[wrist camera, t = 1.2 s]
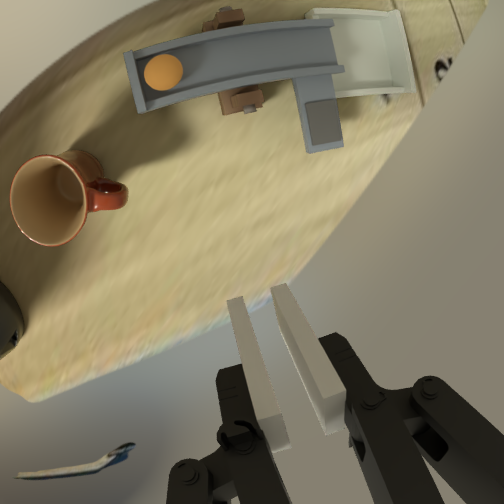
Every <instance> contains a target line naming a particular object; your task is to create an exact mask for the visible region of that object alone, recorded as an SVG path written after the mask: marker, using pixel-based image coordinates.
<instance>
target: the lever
mask: <svg viewBox="0 0 504 504" xmlns="http://www.w3.org/2000/svg"><path fill="white" fill-rule="evenodd" d="M333 26H335V25H334V21H333V19H304V20H287V21H275V22H265V23H257V24H249V25H242V26H236V27H230V28H224V29H218V30H213V31H208V32H203V33H199V34H194V35H190V36H186V37H182V38H178V39H174V40H170V41H167V42H163V43H160V44H156V45H153V46H150V47H146V48H143V49H140V50H137V51H134V52H133V51H132V50H130V51H128V52H125V53H123V55H124V59H125V63H126V68H127V72H128V76H129V80H130V84H131V89H132V93H133V97H134V100H135V104H136V108H137V112H138V114H143V113H146V112H149V111H152V110H156V109H159V108H162V107H165V106H169V105H172V104H175V103H179V102H182V101H186V100H190V99H193V98H197V97H201V96H205V95H209V94H213V93H218V92H222V91H226V90H231V89H236V88H241V87H246V86H251V85H256V84H262V83H267V82H274V81H280V80H287V79H292V82H293V86H294V91H295V96H296V101H297V106H298V111H299V116H300V121H301V126H302V131H303V137H304V142H305V148H306V152H307V153H315V152H320V151H325V150H330V149H335V148H340V147H344V144H343V137H342V131H341V124H340V118H339V112H338V106H337V101H336V95H335V90H334V85H333V80H332V75H331V74H338V73H344V72H345V69H344V65H338V62H337V58H336V53H335V49H334V44H333V40H332V36H331V32H330V28H331V27H333ZM162 54H168V55H172V56H174V57H176V58H177V59H178V60H179V61H180V62H181V64H182V67H183V75H182V78H181V80H180V81H179V83H178V84H177V85H176V86H174V87H173V88H171V89H168V90H163V91H160V90H155V89H153V88H151V87H150V86H149V85H148V84H147V83H146V81H145V78H144V70H145V67H146V65H147V64H148V62H149V61H150V60H151V59H152V58H154V57H156V56H158V55H162Z"/></svg>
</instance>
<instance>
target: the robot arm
mask: <svg viewBox="0 0 504 504" xmlns="http://www.w3.org/2000/svg"><path fill="white" fill-rule="evenodd" d="M271 293H272V297H273V302H274V306H275V311H276V316H277V320H278V325H279V329H280V332H281V334H282V337H283V339H284V341H285V343H286V346H287V348H288V350H289V353H290V355H291V357H292V360H293V362H294V364H295V366H296V369H297V371H298V373H299V376H300V378H301V380H302V382H303V385H304V387H305V389H306V392H307V394H308V396H309V398H310V401H311V403H312V405H313V408H314V410H315V412H316V414H317V417H318V419H319V421H320V424H321V426H322V428H323V430H324V433H325V435H326V436H327V435H330V434H332V433H335V432H337V431H340V430H342V429H345V424H346V426H347V428H348V429H349V432H350V434H349V447H352V446H353V449H354V451H355V454H356V456H357V459H358V461H359V464H360V467H361V469H362V472H363V474H364V477H365V480H366V482H367V485H368V487H369V490H370V493H371V495H372V498H373V501H374V504H445V503H444V501H443V499H442V497H441V495H440V493H439V491H438V489H437V487H436V484H435V482H434V480H433V478H432V476H431V474H430V472H429V470H428V468H427V466H426V464H425V462H424V460H423V458H422V456H423V457H424V458H425V459H426V461H427V462H428V463H429V464H430V465H431V466H432V467H433V468H434V469H435V470H436V471H437V472H438V474H439V475H440V476H441V477H442V478H443V479H444V480H445V481H446V482H447V483H448V484H449V485H450V487H451V488H452V489H453V490H454V491H455V492H456V493H457V494H458V495H459V496H460V497H461V498H462V499H463V501H464V502H465V503H466V504H504V435H503V434H502V433H501V432H500V431H499V430H498V429H496V428H495V427H494V426H493V425H492V424H491V423H490V422H489V421H488V420H487V419H486V418H484V417H483V416H482V415H481V414H480V413H479V412H478V411H477V410H476V409H475V408H473V407H472V406H471V405H470V404H469V403H468V402H467V401H466V400H464V399H463V398H462V397H461V396H460V395H459V394H458V393H457V392H455V391H454V390H453V389H452V388H451V387H450V386H449V385H448V384H446V383H445V382H444V381H443V380H441V379H440V378H438V377H435V376H424V377H422V378H420V379H418V380H417V382H416V383H415V384H414V386H413V387H410V388H404V389H399V390H388V389H384V388H382V387H380V386H378V385H377V384H376V383H375V382H374V381H373V379H372V378H371V376H370V375H369V373H368V371H367V370H366V368H365V367H364V365H363V364H362V362H361V361H360V359H359V358H358V356H357V355H356V353H355V352H354V350H353V349H352V347H351V346H350V344H349V342H348V341H347V339H346V338H345V337H343V336H341V335H339V334H338V333H336V332H335V333H332V334H329V335H327V336H324V337H321V338H319V339H317V337H316V335H315V333H314V331H313V330H312V328H311V326H310V324H309V323H308V321H307V319H306V317H305V316H304V314H303V312H302V310H301V308H300V307H299V305H298V304H297V301H296V300H295V298H294V296H293V294H292V293H291V291H290V289H289V287H288V286H287V284H286V283H284V284H281V285H278V286H274V287H271ZM227 305H228V309H229V313H230V317H231V322H232V326H233V330H234V334H235V338H236V342H237V346H238V350H239V354H240V358H241V362H242V364H238V365H235V366H231V367H228V368H224V369H220V370H219V372H218V374H217V377H216V387H217V392H218V399H219V405H220V410H221V416H222V421H223V424H222V425H221V426H220V428H219V430H218V432H217V441H218V443H219V444H220V445H221V446H220V447H219V448H218V449H217V450H216V451H215V452H214V453H212V454H210V455H208V456H207V457H205V458H203V459H201V460H199V461H198V460H196V459H190V458H189V459H184V460H181V461H179V462H178V463H176V464H175V465H174V466H173V467H172V469H171V471H170V474H169V482H168V491H167V500H166V504H231V499H232V498H234V497H236V496H238V498H239V501H240V504H292V502H291V500H290V497H289V495H288V493H287V490H286V488H285V486H284V483H283V481H282V478H281V476H280V474H279V471H278V468H277V466H276V464H275V462H274V458H273V455H272V453H275V452H279V451H282V450H285V449H289V448H291V444H290V441H289V437H288V434H287V431H286V427H285V424H284V421H283V417H282V414H281V411H280V408H279V405H278V402H277V399H276V396H275V393H274V390H273V388H272V384H271V382H270V379H269V376H268V373H267V370H266V367H265V364H264V361H263V358H262V355H261V352H260V349H259V346H258V342H257V340H256V336H255V334H254V330H253V327H252V324H251V321H250V318H249V315H248V312H247V309H246V306H245V303H244V299H243V296H241V297H238V298H234V299H231V300H227ZM23 331H24V322H23V317H22V313H21V311H20V308H19V306H18V304H17V302H16V300H15V299H14V297H13V296H12V294H11V293H10V292H9V290H8V289H7V288H6V287H5V286H4V285H3V284H2V283H1V282H0V360H1V359H2V358H3V357H4V356H6V355H7V354H8V353H9V352H11V351H12V350H13V349H14V348H15V347H16V346H17V344H18V343H19V341H20V339H21V337H22V335H23ZM421 455H422V456H421Z"/></svg>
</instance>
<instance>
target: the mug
mask: <svg viewBox="0 0 504 504" xmlns="http://www.w3.org/2000/svg"><path fill="white" fill-rule="evenodd" d="M127 201H128V188H127V186H126V185H124V184H122V183H119V182H115V181H112V180H110V179H107V178H104V171H103V168H102V166H101V164H100V163H99V161H98V160H97V159H96V158H95V157H94V156H93V155H91V154H89V153H87V152H84V151H80V150H71V151H66V152H64V153H62V154H60V155H57V156H55V155H47V154H46V155H39V156H35V157H33V158H31V159H29V160H28V161H26V162H25V163H24V164H23V165H22V166H21V167H20V168H19V170H18V171H17V173H16V174H15V176H14V179H13V181H12V184H11V189H10V207H11V211H12V215H13V217H14V220H15V222H16V224H17V225H18V227H19V228H20V230H21V231H22V232H23V233H24V234H25V235H26V236H27V237H28V238H29V239H31V240H32V241H34V242H36V243H38V244H41V245H44V246H59V245H62V244H65V243H67V242H69V241H70V240H72V239H73V238H74V237H75V236H76V235H77V234H78V233H79V232H80V230H81V229H82V227H83V225H84V224H85V221H86V218H87V214H88V213H89V212H96V211H99V210H115V209H120V208H122V207H123V206H125V205H126V203H127Z"/></svg>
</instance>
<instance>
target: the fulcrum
mask: <svg viewBox="0 0 504 504" xmlns="http://www.w3.org/2000/svg"><path fill="white" fill-rule="evenodd" d="M219 11H220V12H217V13H216V15H215V18H214V20H213V21H208V22H204V23H203V28H202V31H203V32H208V31H213V30H218V29H224V28H230V27H236V26H242V25H243V21H244V19H245V18H244V14H243V11H242V9H236V10H232V7H230V6H228V7H223V8H221V9H219ZM218 97H219V101H220V105H221V109H222V113H223V115H228V114H233V113H237V112H242V111H244V114H246V113H251V112H256V111H257V110H256V108H261V107H263V106H262V102H264V97H263V93H262V90H259V88H258V84H256V85H251V86H246V87H241V88H236V89H231V90H226V91H222V92H218Z"/></svg>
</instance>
